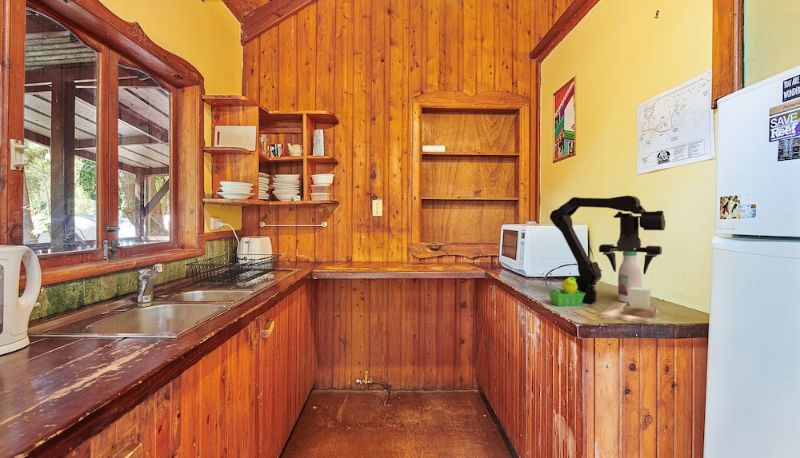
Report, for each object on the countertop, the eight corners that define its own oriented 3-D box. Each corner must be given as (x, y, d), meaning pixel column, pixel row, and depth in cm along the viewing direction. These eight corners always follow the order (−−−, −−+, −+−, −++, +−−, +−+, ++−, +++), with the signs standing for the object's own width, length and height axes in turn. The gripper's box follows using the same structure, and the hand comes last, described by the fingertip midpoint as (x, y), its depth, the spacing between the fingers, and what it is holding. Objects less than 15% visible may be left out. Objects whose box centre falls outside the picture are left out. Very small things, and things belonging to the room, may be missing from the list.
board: (599, 316, 119) (599, 313, 119) (615, 304, 135) (615, 301, 135) (650, 324, 109) (650, 321, 109) (660, 310, 125) (660, 307, 125)
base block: (623, 314, 118) (623, 306, 118) (628, 309, 123) (628, 302, 123) (652, 318, 112) (652, 310, 112) (656, 313, 118) (656, 306, 118)
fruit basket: (575, 301, 140) (575, 273, 140) (588, 307, 132) (588, 277, 131) (547, 302, 140) (547, 274, 139) (558, 308, 131) (558, 278, 131)
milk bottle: (639, 300, 141) (639, 250, 141) (643, 304, 134) (643, 252, 134) (616, 298, 144) (616, 250, 144) (619, 302, 137) (619, 251, 137)
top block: (629, 306, 118) (629, 288, 117) (632, 303, 121) (632, 286, 121) (647, 309, 114) (647, 290, 114) (650, 306, 118) (650, 288, 118)
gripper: (594, 230, 129) (594, 273, 129) (657, 231, 116) (657, 278, 117) (602, 229, 137) (602, 269, 137) (662, 230, 124) (662, 274, 125)
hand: (629, 272), depth 129 cm, fingers open, 9 cm apart
